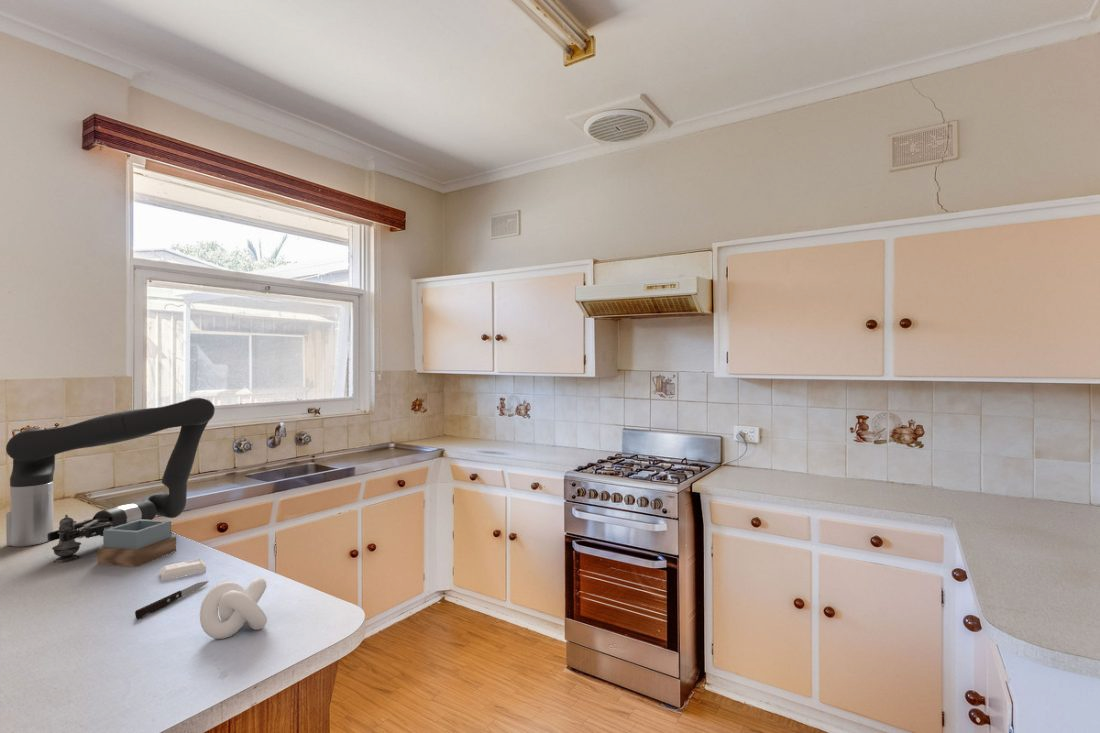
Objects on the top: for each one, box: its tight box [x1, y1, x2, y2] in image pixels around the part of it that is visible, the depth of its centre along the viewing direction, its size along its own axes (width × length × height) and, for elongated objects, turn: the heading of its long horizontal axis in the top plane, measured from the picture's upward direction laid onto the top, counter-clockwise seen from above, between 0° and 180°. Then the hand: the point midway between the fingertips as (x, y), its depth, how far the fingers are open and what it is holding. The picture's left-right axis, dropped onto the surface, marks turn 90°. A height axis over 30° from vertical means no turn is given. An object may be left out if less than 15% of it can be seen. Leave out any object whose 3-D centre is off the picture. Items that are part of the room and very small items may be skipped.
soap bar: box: [160, 558, 207, 582], centre depth 135 cm, size 5×9×3 cm, turn 129°
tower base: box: [97, 535, 177, 568], centre depth 147 cm, size 12×12×4 cm
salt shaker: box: [51, 514, 82, 563], centre depth 145 cm, size 6×6×12 cm
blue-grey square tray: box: [102, 519, 172, 550], centre depth 147 cm, size 10×10×4 cm
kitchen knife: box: [134, 580, 209, 620], centre depth 119 cm, size 18×1×2 cm, turn 169°
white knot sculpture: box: [199, 577, 268, 640], centre depth 107 cm, size 11×12×9 cm
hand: (55, 537), depth 143 cm, fingers closed on salt shaker, 3 cm apart
